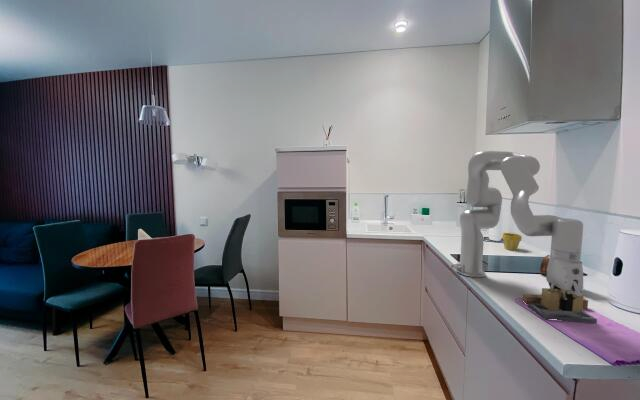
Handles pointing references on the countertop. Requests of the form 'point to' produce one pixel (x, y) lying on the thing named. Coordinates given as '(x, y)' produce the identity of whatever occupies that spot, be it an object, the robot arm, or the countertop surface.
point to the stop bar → (559, 300)
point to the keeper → (562, 314)
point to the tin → (544, 265)
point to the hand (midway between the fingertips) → (560, 306)
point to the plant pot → (511, 240)
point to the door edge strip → (537, 299)
